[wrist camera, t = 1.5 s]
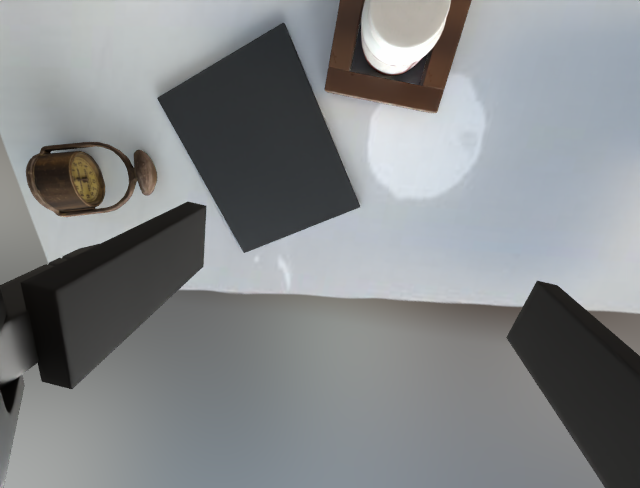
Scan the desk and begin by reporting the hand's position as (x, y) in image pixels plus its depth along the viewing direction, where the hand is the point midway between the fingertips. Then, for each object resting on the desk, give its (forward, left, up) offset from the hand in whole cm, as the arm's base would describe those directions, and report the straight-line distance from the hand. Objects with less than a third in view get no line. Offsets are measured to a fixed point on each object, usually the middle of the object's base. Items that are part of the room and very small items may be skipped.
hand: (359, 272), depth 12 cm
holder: (+10, -7, -25) cm, 28 cm away
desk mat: (+6, +10, -25) cm, 27 cm away
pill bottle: (+10, -7, -25) cm, 28 cm away
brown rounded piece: (+11, +29, -25) cm, 40 cm away
